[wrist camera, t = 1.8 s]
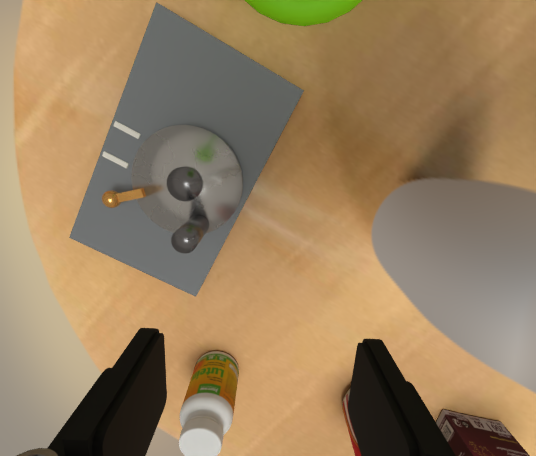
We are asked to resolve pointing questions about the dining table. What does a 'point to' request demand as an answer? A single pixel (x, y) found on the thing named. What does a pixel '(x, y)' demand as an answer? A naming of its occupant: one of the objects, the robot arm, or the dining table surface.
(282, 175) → the dining table surface
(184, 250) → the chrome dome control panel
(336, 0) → the wineglass
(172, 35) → the stand
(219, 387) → the supplement bottle
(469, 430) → the supplement box
